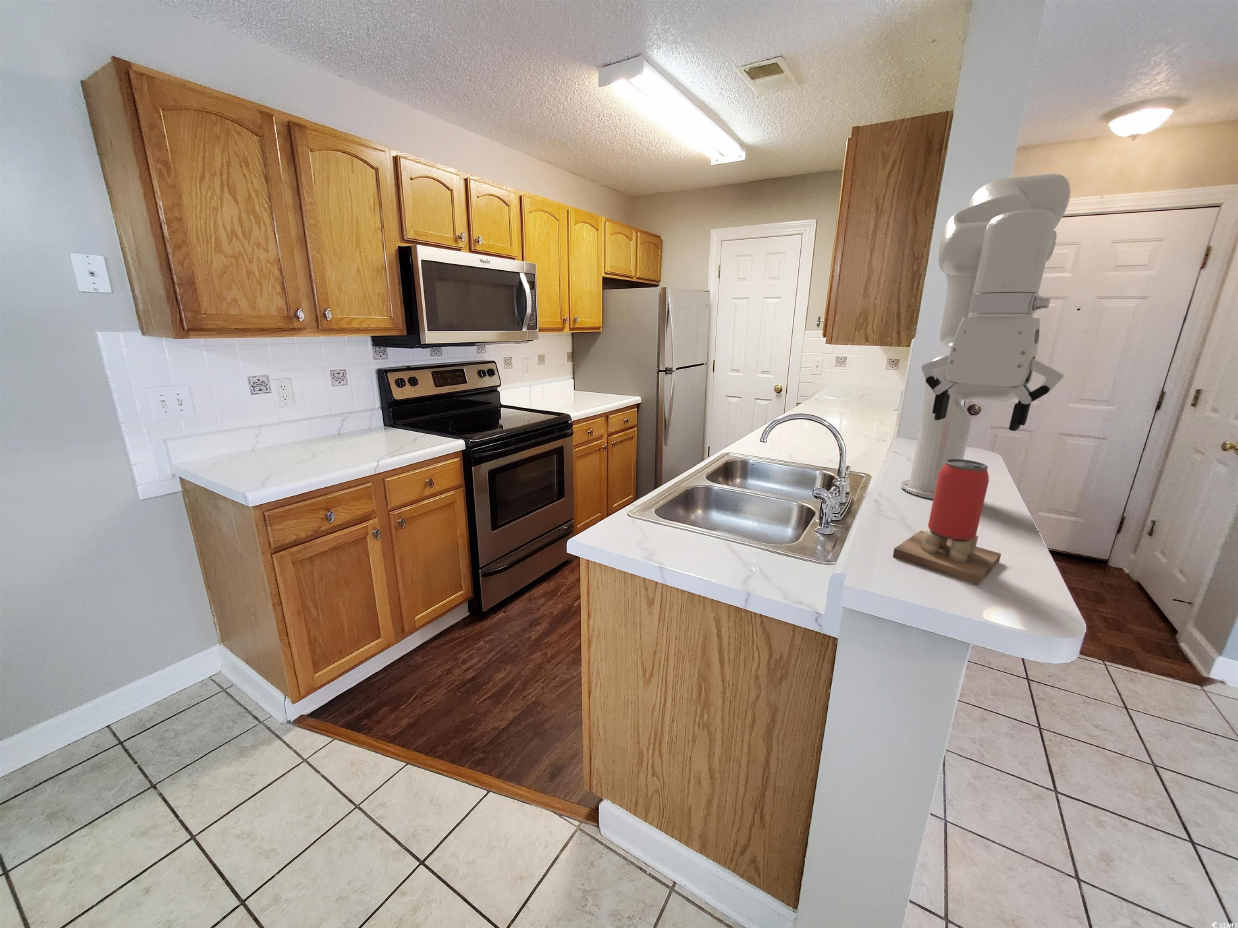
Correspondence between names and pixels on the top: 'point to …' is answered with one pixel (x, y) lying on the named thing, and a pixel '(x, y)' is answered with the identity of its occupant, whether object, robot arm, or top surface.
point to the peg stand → (948, 556)
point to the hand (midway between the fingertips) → (975, 424)
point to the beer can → (959, 499)
